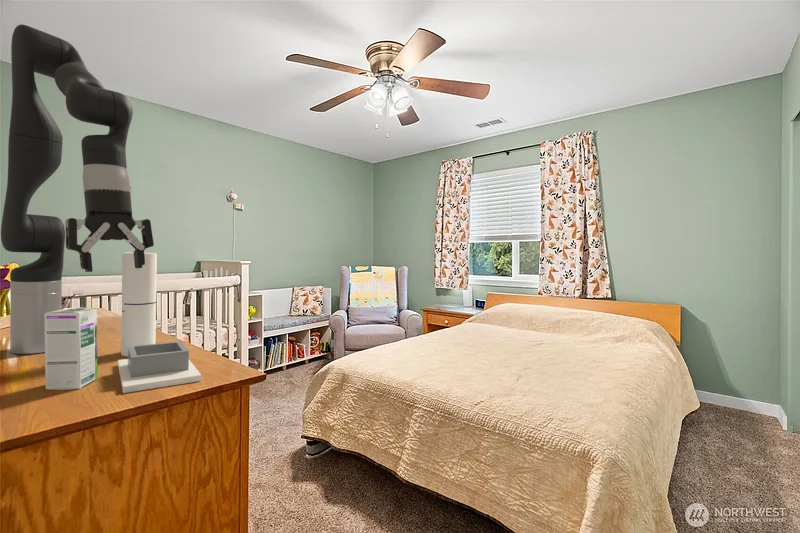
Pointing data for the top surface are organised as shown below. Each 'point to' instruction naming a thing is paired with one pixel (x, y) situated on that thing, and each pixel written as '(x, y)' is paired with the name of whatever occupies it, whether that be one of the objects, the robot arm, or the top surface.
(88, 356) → the syrup box
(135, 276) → the cylindrical container
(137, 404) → the top surface
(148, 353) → the dock
